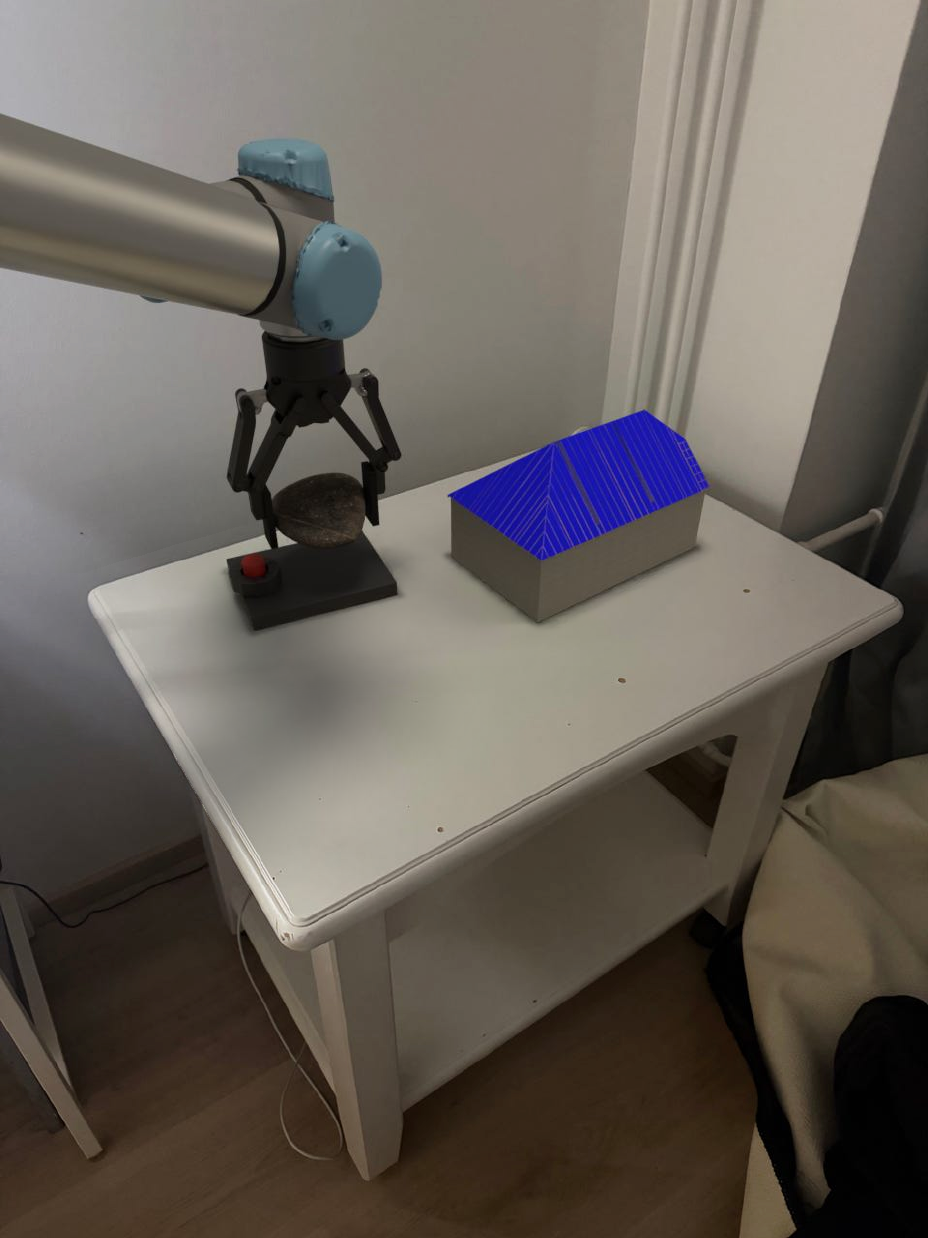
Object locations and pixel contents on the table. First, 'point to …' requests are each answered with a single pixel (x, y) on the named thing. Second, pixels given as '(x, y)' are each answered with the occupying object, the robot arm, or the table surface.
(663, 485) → the house
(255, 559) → the tare button
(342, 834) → the table surface
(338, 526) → the stone
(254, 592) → the scale
